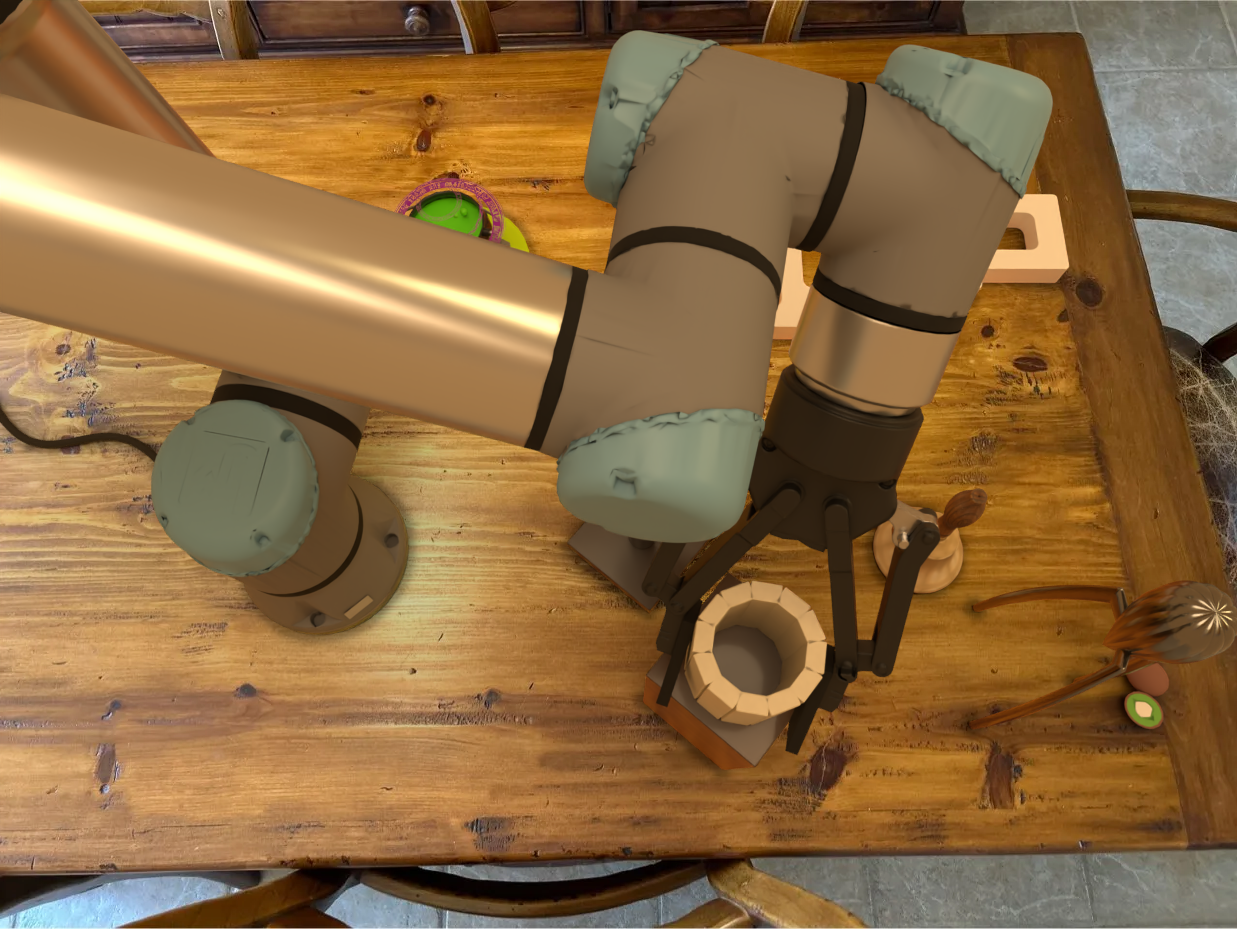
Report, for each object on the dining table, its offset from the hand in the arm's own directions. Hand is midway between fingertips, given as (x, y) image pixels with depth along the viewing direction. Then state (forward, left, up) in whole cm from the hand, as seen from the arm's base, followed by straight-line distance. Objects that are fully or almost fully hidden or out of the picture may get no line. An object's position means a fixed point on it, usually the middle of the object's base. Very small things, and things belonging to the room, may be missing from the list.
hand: (729, 714), depth 55 cm
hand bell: (+5, +26, -24) cm, 36 cm away
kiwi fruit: (+27, +27, -23) cm, 45 cm away
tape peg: (-15, +10, -24) cm, 30 cm away
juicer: (+18, +20, -24) cm, 36 cm away
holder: (-17, +45, -24) cm, 54 cm away
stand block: (-1, +3, -24) cm, 24 cm away
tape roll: (-1, +3, -2) cm, 4 cm away
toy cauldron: (-49, +21, -24) cm, 59 cm away
